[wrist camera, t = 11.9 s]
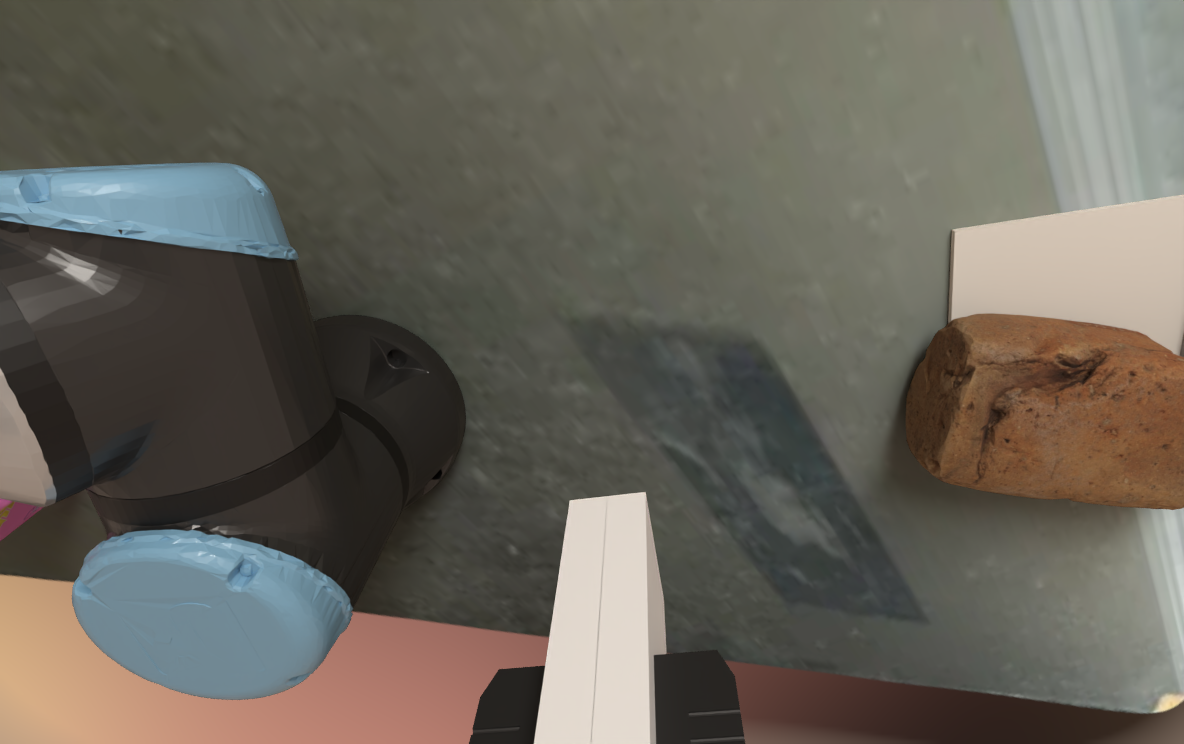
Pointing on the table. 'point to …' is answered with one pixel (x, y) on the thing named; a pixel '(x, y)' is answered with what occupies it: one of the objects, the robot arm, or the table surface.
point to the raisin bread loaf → (1050, 411)
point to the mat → (1079, 268)
